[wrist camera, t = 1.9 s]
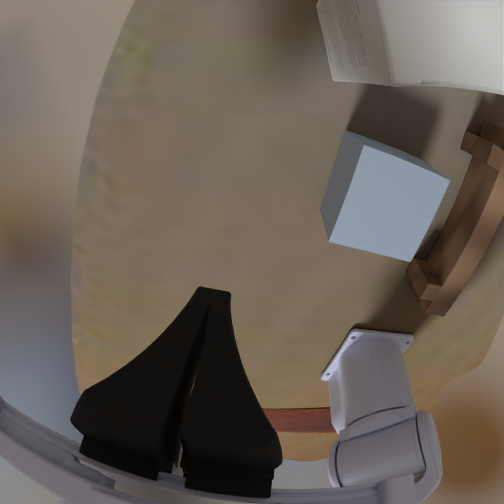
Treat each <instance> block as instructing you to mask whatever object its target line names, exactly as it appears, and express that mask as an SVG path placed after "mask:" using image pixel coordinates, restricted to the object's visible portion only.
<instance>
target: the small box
mask: <svg viewBox="0 0 504 504" xmlns="http://www.w3.org/2000/svg"><path fill="white" fill-rule="evenodd" d="M316 9H317V13H318V17H319V21H320V25H321V30H322V34H323V38H324V42H325V47H326V52H327V56H328V61H329V66H330V71H331V76H332V80H333V81H343V82H358V83H368V84H377V85H386V86H393V87H402V86H440V87H454V88H463V89H471V90H478V91H484V92H490V93H496V94H501V95H504V0H318V2H317V4H316Z"/></svg>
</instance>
